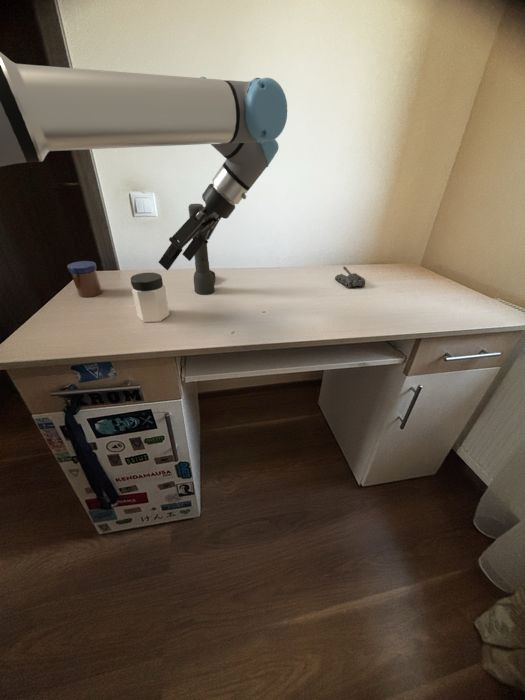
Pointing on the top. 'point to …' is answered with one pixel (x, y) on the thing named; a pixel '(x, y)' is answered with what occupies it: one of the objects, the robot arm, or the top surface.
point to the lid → (82, 267)
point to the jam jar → (87, 284)
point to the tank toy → (350, 279)
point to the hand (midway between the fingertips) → (175, 261)
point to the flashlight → (202, 264)
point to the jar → (149, 297)
